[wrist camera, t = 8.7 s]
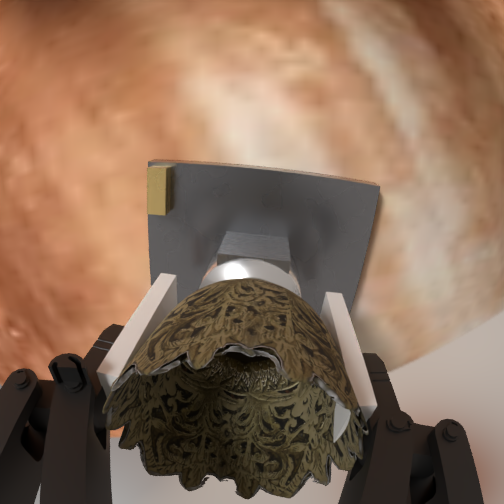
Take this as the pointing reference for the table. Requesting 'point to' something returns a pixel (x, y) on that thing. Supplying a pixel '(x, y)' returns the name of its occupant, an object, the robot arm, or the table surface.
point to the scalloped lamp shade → (238, 393)
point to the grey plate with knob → (258, 227)
